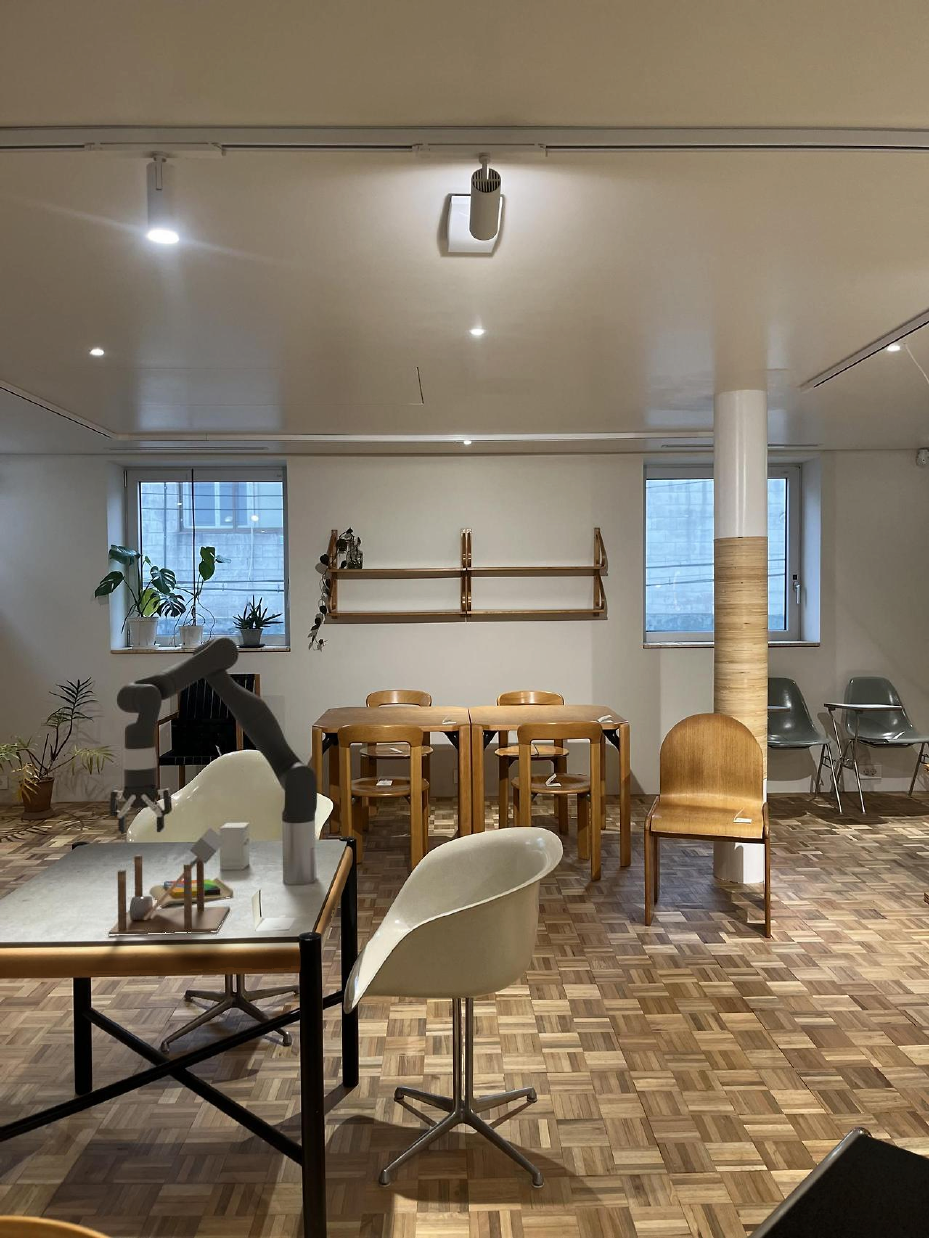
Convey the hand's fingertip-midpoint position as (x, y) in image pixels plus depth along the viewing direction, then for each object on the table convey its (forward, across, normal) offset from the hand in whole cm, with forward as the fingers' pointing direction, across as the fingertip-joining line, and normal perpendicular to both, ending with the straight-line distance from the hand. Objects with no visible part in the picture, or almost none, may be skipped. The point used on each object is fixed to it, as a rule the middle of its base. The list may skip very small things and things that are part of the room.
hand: (141, 832), depth 226 cm
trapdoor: (+12, -11, 0) cm, 17 cm away
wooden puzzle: (+23, -6, -24) cm, 34 cm away
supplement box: (+23, -13, -52) cm, 58 cm away
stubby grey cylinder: (+19, -2, 0) cm, 19 cm away
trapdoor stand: (+22, -7, 0) cm, 23 cm away
